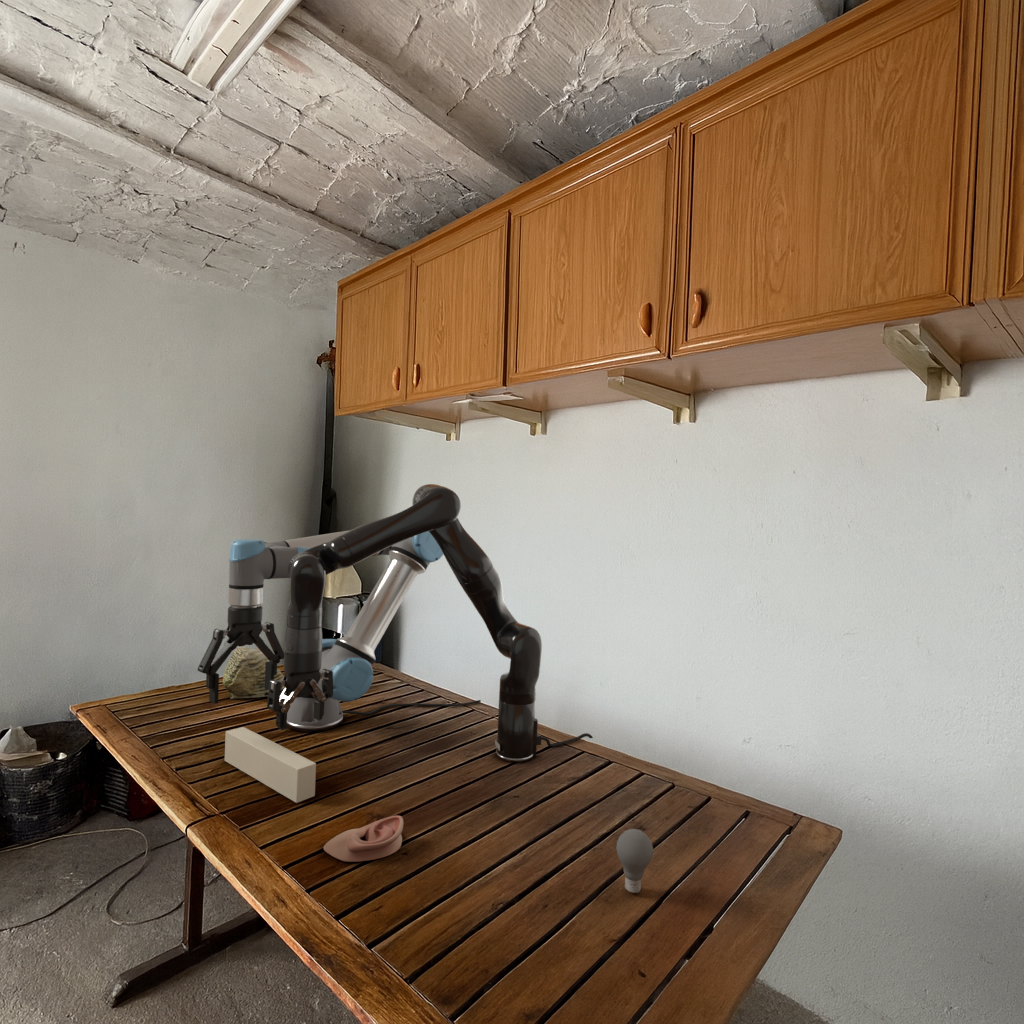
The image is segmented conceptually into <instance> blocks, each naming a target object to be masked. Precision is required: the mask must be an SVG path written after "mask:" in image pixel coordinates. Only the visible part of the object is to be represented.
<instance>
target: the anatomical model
mask: <svg viewBox="0 0 1024 1024" xmlns="http://www.w3.org/2000/svg"><path fill="white" fill-rule="evenodd" d="M403 829H404V818H403V816H401V815H392V816H391V815H390V816H388V817H384V818H381V819H379V820H376V821H373V822H371V823H368V824H367V825H364V826H362V827H359V828H352V829H348V830H345V831H343V832H341V833H339V834H337V835H335V836H334V837H332V838H330V840H328V841H327V842H326V843H325V844H324V846H323V850H324V852H326V853H327V854H328V855H330V856H331V857H333V858H335V859H337V860H339V861H341V862H346V863H356V862H366V861H373V860H374V861H375V860H377V859H378V860H379V859H382V858H385V857H387V856H390V855H392V854H395V853H396V852H398V850H399V849H401V846H402V843H403V836H402V833H403Z"/></svg>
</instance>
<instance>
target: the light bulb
mask: <svg viewBox="0 0 1024 1024" xmlns="http://www.w3.org/2000/svg"><path fill="white" fill-rule="evenodd" d="M615 849H616V854H617V857H618V859H619V861H620V863H621V865H622V867H623V873H624V874H623V875H624V876H625V878H624V888H625V890H627V891H628V892H630V893H634V894H635V893H639V892H640V891H641V889H642V887H641V886H642V879H643V877H644V875H645V871H646V868H647V867H648V866H649V864H650V863H651V861H652V859H653V855H654V847H653V843H652V841H651V838H649V836H648V835H647V834H646V833H645V832H643V831H642V830H641V829H636V828H629V829H627V830H625V831H623V832H622V833H621V834H620V835H619V837H618V839H617V841H616V847H615Z"/></svg>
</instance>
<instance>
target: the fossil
mask: <svg viewBox="0 0 1024 1024" xmlns="http://www.w3.org/2000/svg"><path fill="white" fill-rule="evenodd" d="M230 655H231V656H230V657H229V659H228V660H227V663H226V666H225V668H224V671H223V675H222V676H223V677H222V685H223V687H224V688H225V690H226V691H228V693H229V698H230V699H250V698H264V697H268V691H269V690H267V689H265V664H266V662H270V661H269V660H268V659H267V657H266V656H265V655H264V654H263V653H262V652H261V651H260V649H259V648H258V647H256V648H251V647H247V646H246V647H245V646H241V647H239V646H237V647H236V648H235V649H234V650H233V651H232V652H231V654H230ZM283 678H284V674H283V673H282V672H281V669H279V668H278V667H277V674H276V675H275V676H274V680H283ZM284 689H285V687H284V686H283V687H282V690H281V691H280V694H281V693H282V692H283V690H284Z"/></svg>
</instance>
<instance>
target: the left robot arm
mask: <svg viewBox="0 0 1024 1024" xmlns="http://www.w3.org/2000/svg"><path fill="white" fill-rule="evenodd" d="M350 530H351V529H349V530H342V531H337V532H330V533H324V534H318V535H311V536H305V537H304V536H303V537H298V538H292V539H284V540H278V541H272V542H267V541H264V540H262V539H248V538H247V539H243V538H242V539H235V540H233V541H232V542H231V543H230V549H229V558H228V563H229V569H228V571H229V572H228V595H227V596H228V597H227V599H228V600H227V602H228V603H227V604H228V605H229V606H228V608H227V628H226V629H219V628H214V629H213V632H212V637H211V641H210V643H209V645H208V646H207V649H206V650H205V652H204V654H203V657H202V658H201V660H200V663H199V665H198V667H197V672H200V673H202V674H205V686H206V688H207V689H209V690H208V692H209V693H208V701H209V702H211V703H213V704H218V703H219V688H220V687H219V686H220V673H217V672H218V670H219V669H220V668H221V667H222V665H223V664H224V663H225V662H226V660H227V659H228V657H229V656H230V655H231V654H232V653H233V652H234V651H235V650H236V649H237V648H238V647H245V646H253V644H254V646H256V648H259V649H260V651H261V652H262V653H263V654H264V655H265V656H266V657H267V659H268V660H269V661H270V662H266V664H265V689H267V690H269V682H270V680H272V679H273V680H274V676H275V675H276V674H277V668H278V664H279V663H280V662H281V660H284V652H285V651H284V650H283V647H282V645H281V643H280V640H279V638H278V636H277V634H276V632H275V624H274V623H273V622H269V621H265V622H264V623H263V624H262V621H263V609H264V608H263V606H262V605H263V603H264V582H265V580H273V579H274V580H275V579H276V580H277V579H290V575H289V572H288V566H289V563H290V561H291V560H292V558H293V557H294V556H296V555H297V554H299V553H301V552H303V551H305V550H308V549H310V548H313V547H315V546H318V545H321V544H323V543H326V542H329V541H331V540H333V539H334V538H336V537H338V536H340V535H342V534H344V533H346V532H348V531H350ZM377 556H389V561H388V563H387V565H386V566H385V568H384V570H383V571H382V573H381V575H380V577H379V579H378V580H377V582H376V584H374V585H375V586H374V587H373V589H372V591H371V592H370V594H369V596H368V597H367V598H366V601H365V602H364V604H363V606H362V607H361V609H360V611H359V613H358V614H357V616H356V618H355V619H354V621H353V622H352V625H351V626H350V628H349V629H348V632H347V633H346V635H344V636H341V637H339V638H322V659H321V669H320V672H321V671H322V670H323V669H328V670H331V671H333V696H332V697H331V698H327V699H326V701H325V703H324V715H323V716H322V719H321V720H317V719H315V718H314V701H316V700H315V698H314V697H313V696H312V694H311V695H304V696H302V697H299V698H297V697H296V698H295V700H294V702H293V703H291V704H290V705H289V707H288V709H287V710H288V711H287V729H289V730H291V731H294V732H295V731H296V732H301V733H316V732H325V731H329V730H332V729H335V728H337V727H339V726H340V725H342V723H343V722H344V714H349V715H350V714H351V715H352V714H353V715H360V716H368V715H372V714H375V713H377V712H378V711H381V710H383V709H386V708H392V707H394V708H395V707H413V706H414V707H461V706H462V707H464V706H469V705H474V704H479V703H481V699H477V700H472V701H468V702H461V703H460V702H459V703H423V702H422V703H421V702H420V703H419V702H418V703H413V702H411V703H392V704H391V703H390V704H385V705H382V706H380V707H377V708H375V709H373V710H371V711H365V712H362V711H355V710H343V709H342V706H341V702H343V703H350V702H353V701H357V700H358V699H360V698H361V697H363V696H364V695H365V694H366V693H367V692H368V691H369V690H370V688H371V686H372V684H373V681H374V669H373V665H374V664H375V662H376V661H377V660H376V655H375V651H376V648H377V646H378V645H379V644H380V641H381V640H382V638H383V636H384V635H385V633H386V631H387V629H388V627H389V625H390V623H391V622H392V620H393V618H394V617H395V615H396V613H397V611H398V609H400V608H399V607H400V605H402V603H403V600H404V599H405V597H406V595H407V593H408V591H409V590H410V589H411V588H410V587H411V586H412V584H413V583H414V581H415V579H416V577H417V576H418V575H421V574H424V573H426V570H427V568H428V567H429V565H430V563H434V562H436V561H439V560H440V559H441V558H443V556H444V554H443V552H442V550H441V548H440V547H439V545H438V543H437V542H436V540H435V539H434V538H433V536H432V535H431V534H430V532H429V531H428V532H424V533H421V534H419V535H416V536H413V537H411V538H408V539H406V540H403V541H401V542H399V543H397V544H394V545H392V546H390V547H388V548H386V549H384V550H382V551H380V552H378V553H376V554H374V555H372V556H371V557H377ZM262 632H263V633H264V634H265V636H266V639H267V640H268V643H269V646H270V647H269V646H268V645H267V644H266V643H265V640H263V638H262V637H261V636H260V635H261V633H262ZM226 636H227V638H226ZM225 638H226V640H225V641H224V643H223V640H224V639H225ZM222 643H223V646H222ZM221 646H222V647H221ZM220 647H221V648H220ZM271 649H272V650H271ZM317 685H318V686H319V688H320V689H321V690H322V680H321V679H320V680H319V682H318V684H317Z"/></svg>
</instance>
